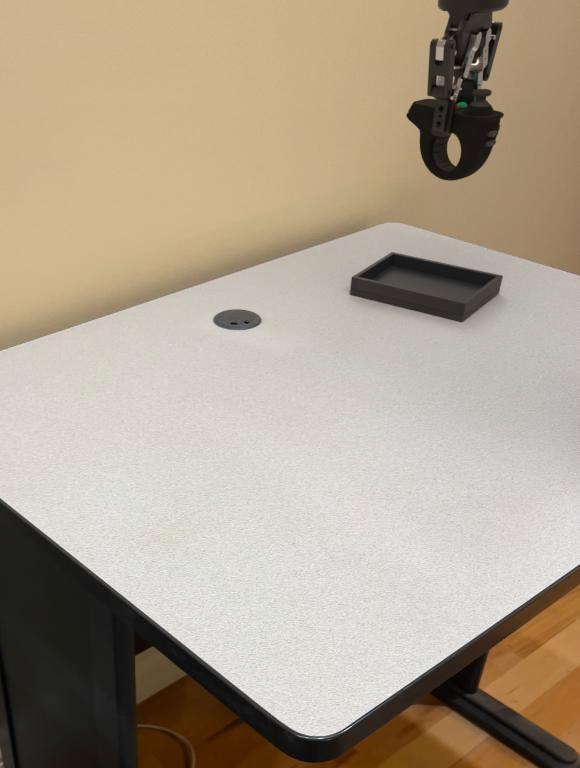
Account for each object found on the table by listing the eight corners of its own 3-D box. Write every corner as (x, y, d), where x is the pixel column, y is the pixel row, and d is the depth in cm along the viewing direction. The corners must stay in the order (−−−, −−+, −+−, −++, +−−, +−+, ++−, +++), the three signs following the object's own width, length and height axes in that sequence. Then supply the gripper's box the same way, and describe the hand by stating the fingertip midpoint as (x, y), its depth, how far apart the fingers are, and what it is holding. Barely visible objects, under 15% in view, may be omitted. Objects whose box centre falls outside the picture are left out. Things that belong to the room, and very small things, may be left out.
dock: (499, 293, 119) (503, 275, 118) (462, 322, 113) (465, 303, 112) (389, 268, 128) (391, 251, 126) (349, 294, 122) (351, 276, 120)
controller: (471, 192, 106) (489, 97, 99) (394, 170, 114) (406, 81, 107) (495, 184, 107) (515, 91, 101) (418, 163, 115) (431, 75, 109)
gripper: (485, -34, 90) (454, 148, 101) (541, -51, 98) (506, 120, 109) (417, -36, 94) (394, 140, 105) (476, -52, 102) (448, 113, 113)
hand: (451, 129), depth 107 cm, fingers closed on controller, 5 cm apart
